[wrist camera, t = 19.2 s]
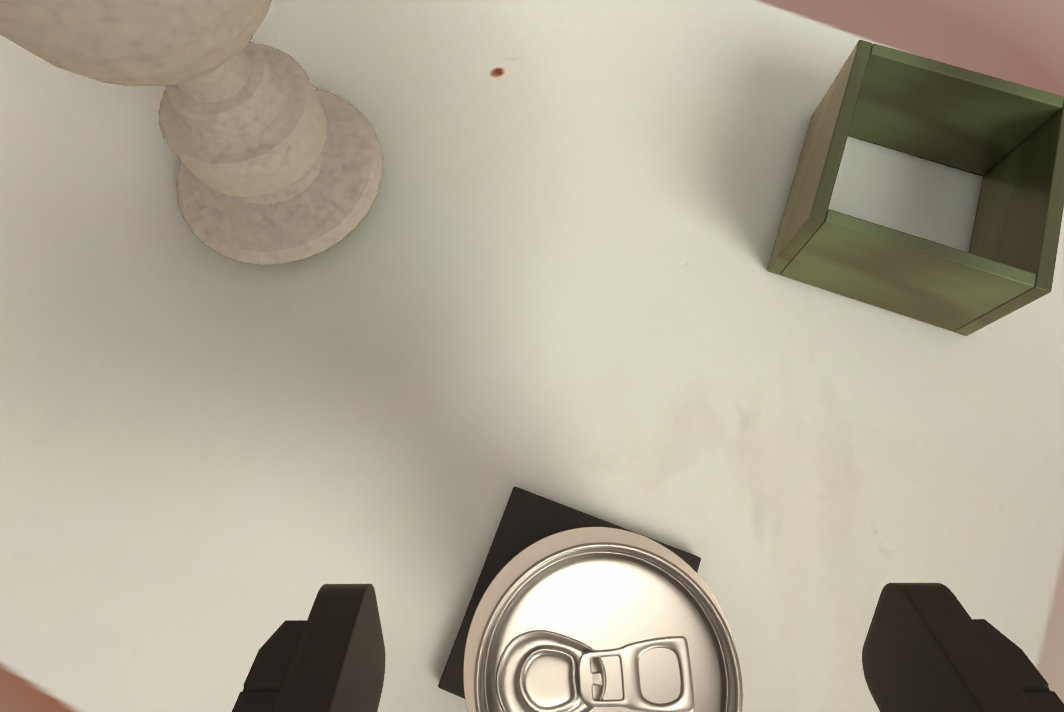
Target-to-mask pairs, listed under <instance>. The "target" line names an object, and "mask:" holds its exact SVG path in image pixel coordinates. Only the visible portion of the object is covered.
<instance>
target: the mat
mask: <svg viewBox="0 0 1064 712" xmlns="http://www.w3.org/2000/svg"><path fill="white" fill-rule="evenodd" d="M584 527H608V528H616V529H621V530H626V531H629V532H632V531H630V530H627V529H624V528H622V527H619V526H617V525H614V524H611V523H609V522H606V521H604V520H601V519H598V518H596V517H593V516H591V515H588V514H585V513H583V512H580V511H577V510H575V509H572V508H570V507H567V506H564V505H562V504H559V503H557V502H554V501H551V500H549V499H546V498H544V497H541V496H538V495H536V494H533V493H531V492H528V491H525V490H523V489H520V488H518V487H514V488H513V490H512V493H511V496H510V498H509V501H508V503H507V506H506V509H505V511H504V514H503V517H502V519H501V522H500V524H499V527H498V530H497V532H496V535H495V538H494V540H493V543H492V545H491V548H490V551H489V553H488V556H487V559H486V561H485V564H484V567H483V569H482V572H481V574H480V577H479V580H478V582H477V585H476V588H475V590H474V593H473V595H472V598H471V601H470V603H469V606H468V609H467V611H466V614H465V616H464V619H463V622H462V624H461V627H460V630H459V632H458V635H457V637H456V640H455V643H454V645H453V648H452V651H451V653H450V656H449V658H448V661H447V664H446V666H445V669H444V672H443V674H442V677H441V680H440V682H439V685H438V687H439V688H441V689H443V690H446V691H448V692H450V693H453V694H455V695H457V696H460V697H462V698H464V699H465V692H464V656H465V648H466V642H467V637H468V633H469V629H470V626H471V623H472V620H473V617H474V614H475V612H476V609H477V607H478V605H479V603H480V601H481V599H482V597H483V595H484V593H485V592H486V590H487V588H488V587H489V585H490V584H491V582H492V581H493V580H494V578H495V577H496V576H497V575H498V573H499V572H500V571H501V570H502V569H503V568H504V567H505V566H506V565H507V564H508V563H509V562H510V561H511V560H512V559H513V558H514V557H515V556H516V555H518V554H519V553H520V552H522V551H523V550H524V549H526V548H527V547H529V546H530V545H532V544H534V543H535V542H537V541H539V540H541V539H543V538H546V537H548V536H550V535H553V534H556V533H559V532H563V531H567V530H571V529H576V528H584ZM633 533H635V532H633ZM636 534H637V533H636ZM639 535H640V534H639ZM642 536H643V535H642ZM644 537H645V536H644ZM647 538H648V537H647ZM649 539H650V538H649ZM651 540H653V539H651ZM653 541H655V542H657V543H659V544H660V545H662V546H664V547H666V548H667V549H669V550H670V551H672V552H673V553H675V554H676V555H677V556H679V557H680V558H681V559H682V560H683V561H685V562H686V563H687V564H688V565H689V566H690V567H691V568H692V569H693V570H694V571H695V572H696V573H697V571H698V567H699V564H700V560H701V558H700V557H697V556H695V555H692V554H690V553H687V552H684V551H682V550H679V549H677V548H674V547H671V546H669V545H666V544H664V543H661V542H658V541H656V540H653Z"/></svg>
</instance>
